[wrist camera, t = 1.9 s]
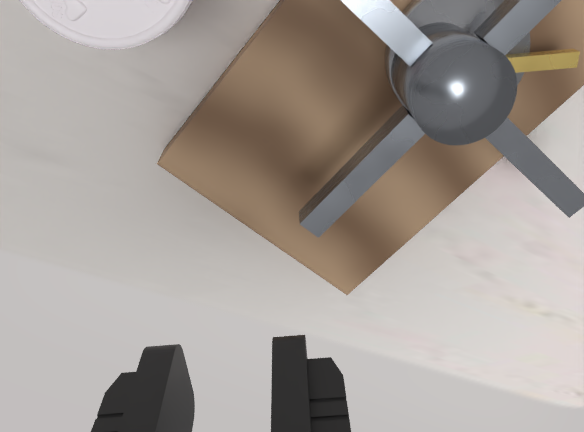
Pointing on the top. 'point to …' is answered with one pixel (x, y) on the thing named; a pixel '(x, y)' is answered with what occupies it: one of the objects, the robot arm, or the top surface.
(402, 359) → the top surface
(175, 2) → the smoothie
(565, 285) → the top surface
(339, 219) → the board
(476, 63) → the capstan
